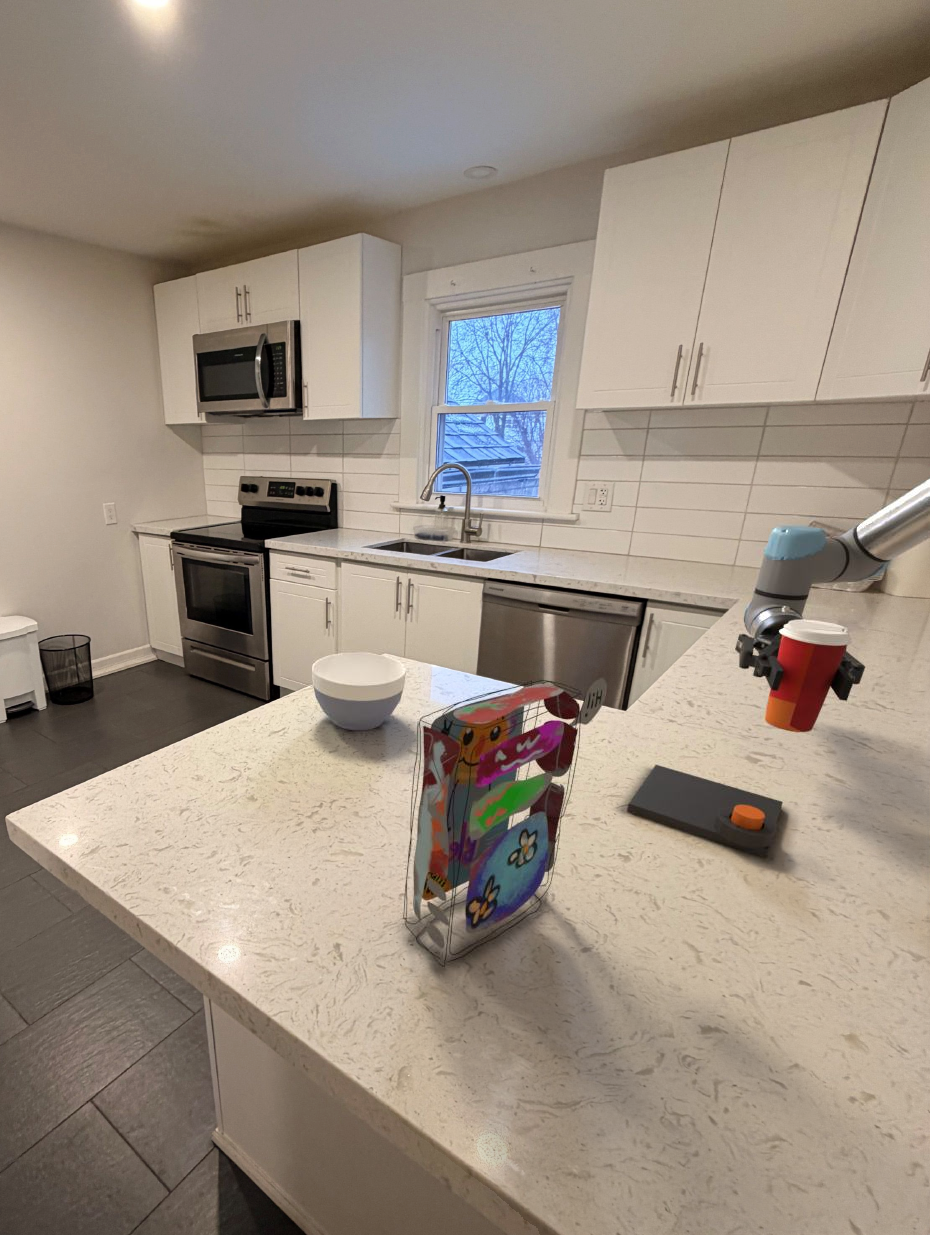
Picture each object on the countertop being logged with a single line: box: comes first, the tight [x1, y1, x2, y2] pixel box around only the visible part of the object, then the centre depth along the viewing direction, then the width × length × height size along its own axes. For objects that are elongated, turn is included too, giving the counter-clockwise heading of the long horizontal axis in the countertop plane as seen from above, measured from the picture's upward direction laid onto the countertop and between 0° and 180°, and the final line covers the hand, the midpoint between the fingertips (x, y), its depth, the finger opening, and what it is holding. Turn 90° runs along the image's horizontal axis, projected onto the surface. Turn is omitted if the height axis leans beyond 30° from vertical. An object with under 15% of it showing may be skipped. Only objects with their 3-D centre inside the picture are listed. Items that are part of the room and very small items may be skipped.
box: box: [402, 677, 608, 968], centre depth 65 cm, size 25×6×24 cm, turn 126°
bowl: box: [311, 652, 407, 731], centre depth 110 cm, size 16×16×10 cm
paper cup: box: [764, 619, 853, 733], centre depth 86 cm, size 8×8×14 cm
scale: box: [626, 764, 783, 859], centre depth 85 cm, size 16×15×3 cm
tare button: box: [731, 805, 765, 830], centre depth 79 cm, size 3×3×2 cm
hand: (811, 685), depth 82 cm, fingers closed on paper cup, 7 cm apart
